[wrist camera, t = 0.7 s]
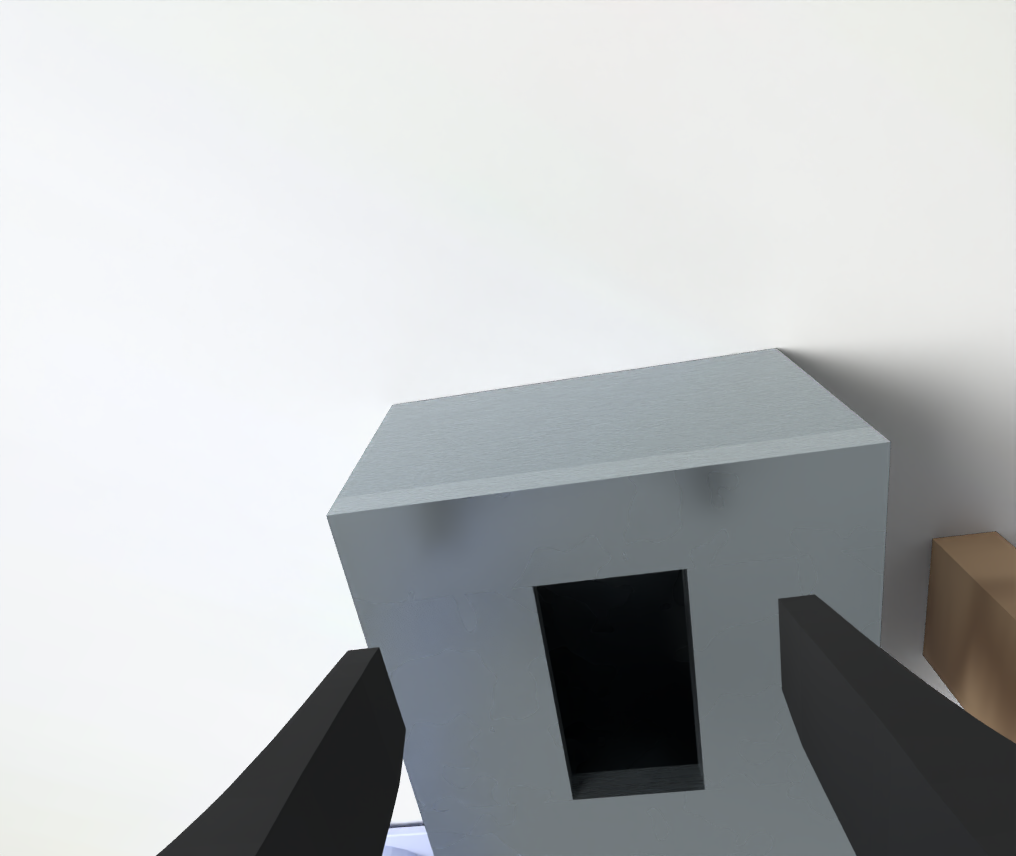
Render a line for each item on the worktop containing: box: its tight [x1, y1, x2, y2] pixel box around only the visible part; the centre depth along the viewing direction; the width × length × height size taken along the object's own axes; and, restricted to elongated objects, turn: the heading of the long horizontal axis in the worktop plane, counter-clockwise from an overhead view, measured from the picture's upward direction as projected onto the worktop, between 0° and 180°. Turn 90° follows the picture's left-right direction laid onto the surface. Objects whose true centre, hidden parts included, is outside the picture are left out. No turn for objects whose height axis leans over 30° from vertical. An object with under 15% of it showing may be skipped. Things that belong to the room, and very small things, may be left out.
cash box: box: [326, 348, 891, 856], centre depth 20 cm, size 18×12×7 cm, turn 10°
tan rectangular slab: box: [923, 531, 1016, 743], centre depth 21 cm, size 5×2×5 cm, turn 10°
